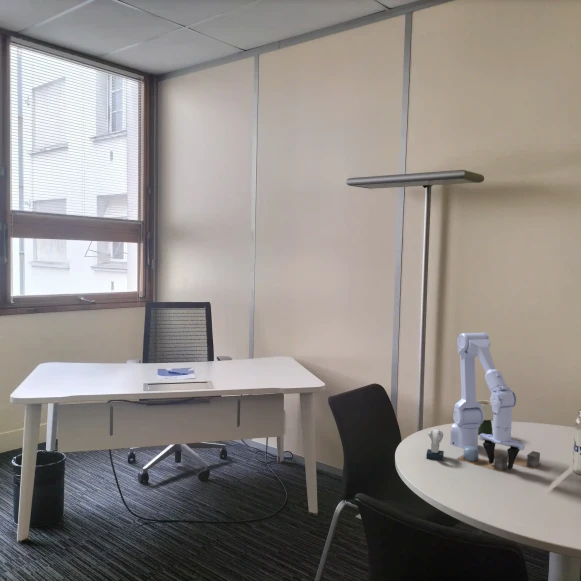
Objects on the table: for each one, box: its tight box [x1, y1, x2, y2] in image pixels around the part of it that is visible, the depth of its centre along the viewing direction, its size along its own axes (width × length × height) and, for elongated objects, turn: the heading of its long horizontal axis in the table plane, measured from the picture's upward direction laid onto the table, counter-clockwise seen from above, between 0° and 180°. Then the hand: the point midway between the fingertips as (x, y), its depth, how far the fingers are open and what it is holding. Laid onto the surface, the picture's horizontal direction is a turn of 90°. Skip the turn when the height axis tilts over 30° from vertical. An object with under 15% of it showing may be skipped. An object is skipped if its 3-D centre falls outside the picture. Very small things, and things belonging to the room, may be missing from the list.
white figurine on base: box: [425, 428, 445, 462], centre depth 195 cm, size 6×8×11 cm
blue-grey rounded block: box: [462, 446, 480, 462], centre depth 194 cm, size 5×5×4 cm
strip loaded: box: [455, 452, 508, 473], centre depth 191 cm, size 16×7×5 cm, turn 47°
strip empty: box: [494, 450, 542, 470], centre depth 193 cm, size 16×7×5 cm, turn 47°
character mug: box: [472, 399, 494, 435], centre depth 224 cm, size 11×7×13 cm, turn 79°
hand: (500, 465), depth 186 cm, fingers open, 6 cm apart
